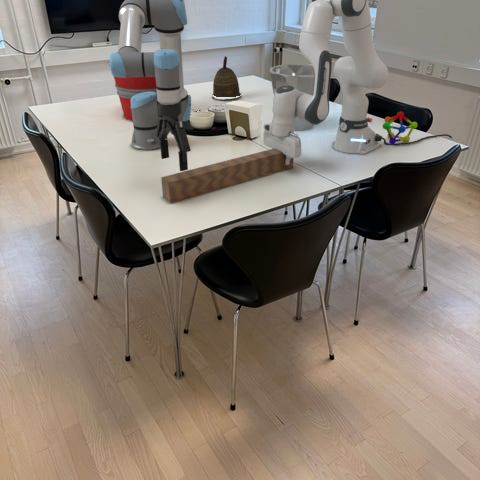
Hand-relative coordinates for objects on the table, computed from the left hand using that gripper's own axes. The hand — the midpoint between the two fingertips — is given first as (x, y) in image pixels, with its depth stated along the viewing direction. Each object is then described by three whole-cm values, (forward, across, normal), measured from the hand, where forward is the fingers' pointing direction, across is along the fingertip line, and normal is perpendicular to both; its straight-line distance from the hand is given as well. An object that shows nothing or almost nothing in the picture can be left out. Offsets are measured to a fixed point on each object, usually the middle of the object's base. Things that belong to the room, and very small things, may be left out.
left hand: (174, 164), depth 154 cm
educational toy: (+13, -8, -113) cm, 114 cm away
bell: (+12, +108, -94) cm, 144 cm away
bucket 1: (+12, +101, -35) cm, 108 cm away
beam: (+13, 0, -24) cm, 28 cm away
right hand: (+10, 0, -49) cm, 50 cm away
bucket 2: (+12, +40, -92) cm, 101 cm away
